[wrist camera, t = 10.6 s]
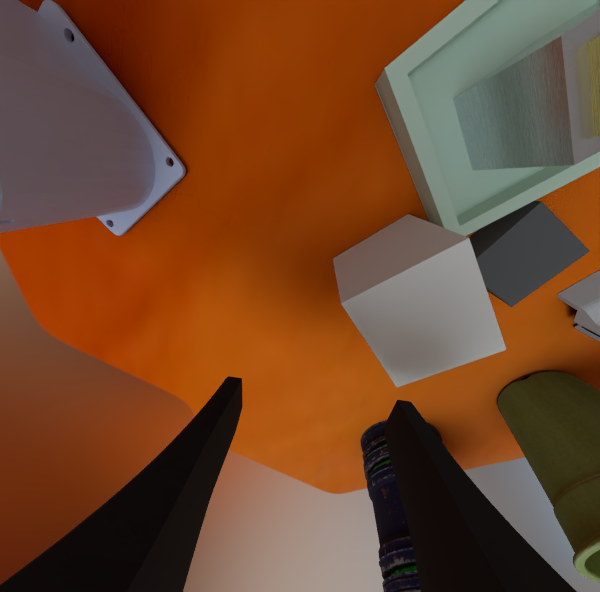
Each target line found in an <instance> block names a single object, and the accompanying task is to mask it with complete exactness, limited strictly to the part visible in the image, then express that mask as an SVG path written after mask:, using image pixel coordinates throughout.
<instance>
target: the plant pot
mask: <svg viewBox="0 0 600 592" xmlns="http://www.w3.org/2000/svg"><path fill="white" fill-rule="evenodd" d="M497 405H498V408H499V410H500V412H501V414H502V416H503V418H504V419H505V421H506V423H507V425H508V426H509V428H510V430H511V432H512V433H513V435H514V437H515V439H516V441H517V442H518V444H519V446H520V448H521V450H522V451H523V453H524V455H525V457H526V458H527V460H528V462H529V464H530V466H531V467H532V469H533V471H534V473H535V475H536V476H537V478H538V480H539V482H540V483H541V485H542V487H543V489H544V490H545V492H546V494H547V496H548V498H549V500H550V502H551V503H552V505H553V507H554V513H555V516H556V518H557V520H558V521H559V523H560V525H561V527H562V529H563V531H564V533H565V535H566V536H567V538H568V540H569V542H570V544H571V546H572V548H573V550H574V552H575V554H574V556H573V564H574V566H575V568H576V570H577V571H578V572H579V573H580V574H581V575H583V576H584V577H586V578H587V579H590V580H593V581H597V582H599V583H600V391H599V390H598V389H596V388H594V387H592V386H591V385H589V384H587V383H586V382H584V381H582V380H580V379H579V378H577V377H575V376H573V375H571V374H568V373H564V372H558V371H548V372H540V373H535V374H532V375H531V376H530V377H529V378H527V379H525V380H521V381H515V382H513V383H511V384H510V385H508V386H507V387H506V388H505V389H504V390H503V391H502V392H501V394H500V396H499V398H498V401H497Z"/></svg>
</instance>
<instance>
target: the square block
mask: <svg viewBox="0 0 600 592" xmlns="http://www.w3.org/2000/svg"><path fill="white" fill-rule="evenodd" d="M469 239H470V242H471V245H472V248H473V251H474V254H475V257H476V260H477V263H478V266H479V269H480V272H481V275H482V278H483V281H484V284H485V287H486V290H487V291H488V292H490V293H491V294H493V295H494V296H496V297H497V298H499V299H500V300H502V301H503V302H505V303H506V304H508V305H509V306H511V307H512V306H513V305H515V304H516V303H518V302H519V301H521V300H522V299H523V298H525V297H526V296H528V295H529V294H530V293H532V292H533V291H535V290H536V289H537V288H539V287H540V286H542V285H543V284H544V283H546V282H547V281H549V280H550V279H551V278H553V277H554V276H556V275H557V274H558V273H560V272H561V271H563V270H564V269H565V268H567V267H568V266H570V265H571V264H572V263H574V262H575V261H577V260H578V259H579V258H581V257H582V256H584V255H585V254H586V253H588V252H589V250H588V249H587V248H586V247H585V246H584V244H583V243H582V242H581V241H580V240H579V239H578V238H577V237H576V236H575V235H574V234H573V233H572V232H571V231H570V230H569V229H568V228H567V227H566V226H565V225H564V224H563V223H562V222H561V221H560V220H559V219H558V218H557V217H556V216H555V215H554V214H553V213H552V212H551V211H550V210H549V209H548V208H547V207H546V206H545V205H544V204H543V203H542V202H539V201H533V202H531V203H529V204H527V205H525V206H523V207H521V208H519V209H517V210H515V211H513V212H511V213H509V214H507V215H506V216H504V217H502V218H500V219H498V220H496V221H494V222H492V223H490V224H488V225H486V226H484V227H482V228H480V229H478V230H477V231H476V232H475V233H474V234H473V235H472V236H471V237H470V238H469Z"/></svg>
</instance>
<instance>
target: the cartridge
mask: <svg viewBox="0 0 600 592" xmlns="http://www.w3.org/2000/svg"><path fill="white" fill-rule="evenodd" d="M453 102H454V105H455V109H456V112H457V116H458V120H459V123H460V127H461V130H462V134H463V138H464V141H465V145H466V148H467V152H468V156H469V159H470V163H471V166H472V170H489V169H508V168H527V167H546V166H566V165H575V164H577V163H579V162H581V161H583V160H585V159H587V158H589V157H591V156H593V155H594V154H596V153H598V152H600V1H598V2H596V3H595V4H593V5H592V6H590V7H588V8H587V9H585V10H584V11H582V12H581V13H579V14H577V15H576V16H574V17H573V18H571V19H569V20H568V21H566V22H565V23H563V24H562V25H560V26H558V27H557V28H555V29H554V30H552V31H550V32H549V33H547V34H546V35H544V36H543V37H541V38H539V39H538V40H537V41H535V42H534V43H532V44H531V45H529V46H528V47H527V48H525V49H524V50H522V51H521V52H519V53H518V54H517V55H515V56H514V57H512V58H511V59H510V60H508V61H507V62H505V63H504V64H502V65H501V66H500V67H498V68H497V69H495V70H494V71H492V72H491V73H490V74H488V75H487V76H485V77H484V78H482V79H481V80H480V81H478V82H477V83H475V84H474V85H473V86H471V87H470V88H468V89H467V90H465V91H464V92H463V93H461V94H460V95H458V96H457V97H455V98H454V99H453Z"/></svg>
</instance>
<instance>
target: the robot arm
mask: <svg viewBox="0 0 600 592" xmlns="http://www.w3.org/2000/svg"><path fill="white" fill-rule="evenodd" d="M72 33H73V35H74V41H72V38H71V35H72ZM170 158H172V159H173V161H174V165H173V166H171V165H170V163H169V160H170ZM185 174H186V169H185V167H184V165H183V163H182V162H181V161H180V160H179V158H178V157H177V156H176V154H175V153H174V152H173V151H172V149H171V148H170V147H169V145H168V144H167V143H166V142H165V140H164V139H163V138H162V136H161V135H160V134H159V132H158V131H157V130H156V129H155V127H154V126H153V125H152V123H151V122H150V121H149V120H148V118H147V117H146V116H145V114H144V113H143V112H142V111H141V109H140V108H139V107H138V105H137V104H136V103H135V102H134V100H133V99H132V98H131V96H130V95H129V94H128V93H127V91H126V90H125V89H124V87H123V86H122V85H121V83H120V82H119V81H118V80H117V78H116V77H115V76H114V74H113V73H112V72H111V71H110V69H109V68H108V67H107V65H106V64H105V63H104V62H103V60H102V59H101V58H100V56H99V55H98V54H97V53H96V51H95V50H94V49H93V47H92V46H91V45H90V44H89V42H88V41H87V40H86V38H85V37H84V36H83V34H82V33H81V32H80V31H79V29H78V28H77V27H76V25H75V24H74V23H73V22H72V20H71V19H70V18H69V16H68V15H67V14H66V13H65V11H64V10H63V9H62V8H61V7H60V6H59V5H58V4H56V3H55V2H53V1H52V0H44V1H43V2H42V4H41V6H40V8H39V10H38V12H36V11H35V10H33V9H31V8H30V7H28V6H26V5H25V4H23V3H21V2H20V1H18V0H0V233H2V232H8V231H14V230H20V229H26V228H31V227H37V226H43V225H49V224H55V223H61V222H66V221H72V220H78V219H84V218H90V217H97V218H98V219H99V220H100V221H101V222H102V223H103V224H104V225H105V226H106V227H107V228H108V229H109V230H111V231H112V232H113V233H114V234H115V235H123V234H125V233H126V232H127V231H128V230H129V229H130V228H131V227H132V226H133V225H134V224H135V223H136V222H137V221H139V220H140V219H141V218H142V217H143V216H144V215H145V214H146V213H147V212H148V211H149V210H150V209H151V208H152V207H153V206H154V205H155V204H156V203H157V202H158V201H159V200H160V199H161V198H162V197H163V196H164V195H165V194H167V193H168V192H169V191H170V190H171V189H172V188H173V187H174V186H175V185H176V184H177V183H178V182H179V181H180V180H181V179H182V178H183V177H184V176H185ZM111 221H112V222H113V224H114V225H113V224H112V223H111ZM241 410H242V378H236V377H227V378H226V379H225V381H224V382H223V383H222V385H221V386H220V387H219V389H218V390H217V391H216V392H215V394H214V395H213V396H212V397H211V399H210V400H209V401H208V402H207V403H206V405H205V406H204V407H203V408H202V409H201V410H200V412H199V413H198V414H197V415H196V416H195V417H194V418H193V420H192V421H191V422H190V423H189V424H188V425H187V426H186V427H185V428H184V429H183V430H182V432H181V433H180V434H179V435H178V436H177V437H176V438H175V439H174V440H173V441H172V442H171V443H170V444H169V445H168V446H167V447H166V448H165V449H164V450H163V451H162V452H161V453H160V454H159V455H158V456H157V457H156V458H155V459H154V460H153V461H152V462H151V463H150V464H149V465H147V466H146V467H145V468H144V469H143V470H142V471H141V472H140V473H139V474H138V475H137V476H136V477H135V478H133V479H132V480H131V481H130V482H129V483H128V484H127V485H125V486H124V487H123V488H122V489H121V490H120V491H119V492H117V493H116V494H115V495H114V496H113V497H112V498H111V499H109V500H108V501H107V502H106V503H105V504H103V505H102V506H101V507H100V508H99V509H97V510H96V511H95V512H94V513H92V514H91V515H90V516H89V517H87V518H86V519H85V520H84V521H83V522H82V523H80V524H79V525H78V526H77V527H75V528H74V529H73V530H72V531H70V532H69V533H68V534H67V535H65V536H64V537H63V538H62V539H60V540H59V541H58V542H56V543H55V544H54V545H53V546H51V547H50V548H49V549H47V550H46V551H45V552H43V553H42V554H41V555H40V556H38V557H37V558H35V559H34V560H33V561H31V562H30V563H29V564H27V565H26V566H25V567H23V568H22V569H21V570H20V571H18V572H17V573H16V574H14V575H13V576H12V577H10V578H9V579H8V580H6V581H5V582H4V583H2V584H1V585H0V592H183V589H184V585H185V582H186V578H187V575H188V571H189V568H190V564H191V561H192V558H193V554H194V551H195V547H196V544H197V540H198V537H199V533H200V530H201V527H202V523H203V520H204V517H205V513H206V510H207V507H208V504H209V501H210V498H211V495H212V492H213V489H214V486H215V484H216V481H217V478H218V476H219V473H220V470H221V468H222V465H223V463H224V460H225V458H226V455H227V452H228V450H229V447H230V444H231V442H232V439H233V436H234V434H235V431H236V428H237V424H238V421H239V417H240V413H241ZM384 429H385V436H386V442H387V448H388V453H389V457H390V461H391V464H392V468H393V472H394V475H395V479H396V483H397V486H398V490H399V494H400V497H401V501H402V504H403V508H404V512H405V515H406V519H407V524H408V528H409V532H410V537H411V542H412V547H413V552H414V557H415V562H416V568H417V573H418V579H419V585H420V590H421V592H576V591H575V590H574V589H573V588H572V587H571V586H570V585H569V584H568V583H567V582H566V581H565V580H564V579H563V578H562V577H561V576H560V575H559V574H558V573H557V572H556V571H555V570H554V569H553V568H552V567H551V566H550V565H549V564H548V563H547V562H546V561H545V560H544V559H543V558H542V557H541V556H540V555H539V554H538V553H537V552H536V551H535V550H534V549H533V548H532V547H531V546H530V545H529V544H528V543H527V541H526V540H525V539H524V538H523V537H522V536H521V535H520V534H519V533H518V532H517V531H516V530H515V529H514V528H513V527H512V526H511V525H510V523H509V522H508V521H507V520H506V519H505V518H504V517H503V516H502V515H501V514H500V513H499V511H498V510H497V509H496V508H495V507H494V506H493V505H492V504H491V503H490V501H489V500H488V499H487V498H486V497H485V496H484V495H483V494H482V492H481V491H480V490H479V489H478V488H477V487H476V485H475V484H474V483H473V482H472V480H471V479H470V478H469V477H468V476H467V475H466V473H465V472H464V471H463V470H462V468H461V467H460V466H459V465H458V463H457V462H456V461H455V460H454V458H453V457H452V456H451V454H450V453H449V452H448V451H447V449H446V448H445V447H444V445H443V444H442V443H441V442H440V440H439V439H438V438H437V436H436V435H435V434H434V432H433V431H432V430H431V428H430V427H429V426H428V424H427V423H426V422H425V420H424V419H423V418H422V416H421V415H420V413H419V412H418V411H417V409H416V408H415V407H414V405H413V404H412V403H411V402H409V401H402V400H397V402H396V404H395V406H394V408H393V410H392V412H391V414H390V416H389V418H388V420H387V422H386V424H385V426H384Z"/></svg>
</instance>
